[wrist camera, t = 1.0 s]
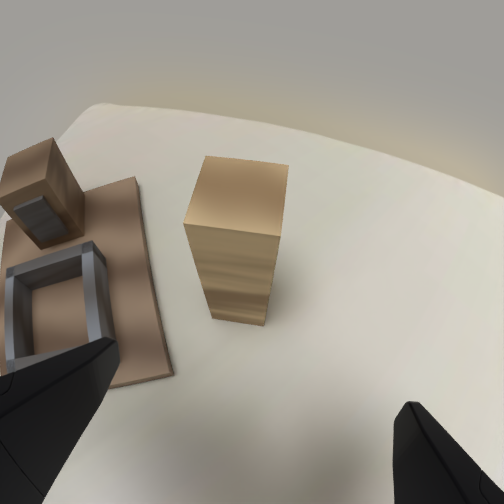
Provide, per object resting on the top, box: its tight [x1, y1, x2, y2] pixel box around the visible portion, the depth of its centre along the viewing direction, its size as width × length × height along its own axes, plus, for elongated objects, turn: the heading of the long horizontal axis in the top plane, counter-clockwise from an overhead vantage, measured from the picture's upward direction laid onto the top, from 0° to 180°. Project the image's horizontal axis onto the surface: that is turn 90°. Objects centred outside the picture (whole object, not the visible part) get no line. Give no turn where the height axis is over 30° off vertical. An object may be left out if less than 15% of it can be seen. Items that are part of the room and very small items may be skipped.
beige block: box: [183, 156, 289, 326], centre depth 20 cm, size 5×4×13 cm
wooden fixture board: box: [0, 138, 174, 389], centre depth 21 cm, size 19×16×10 cm
